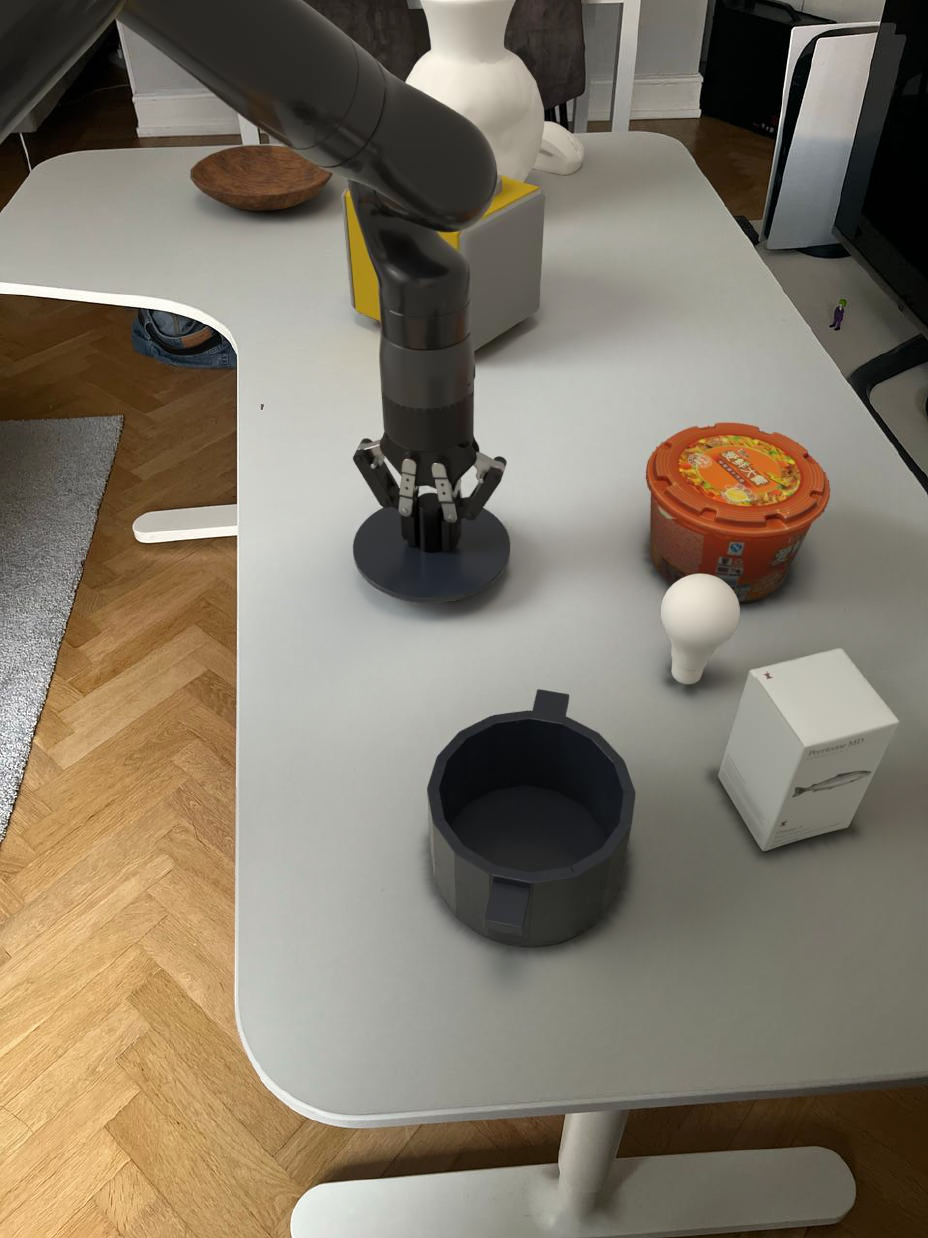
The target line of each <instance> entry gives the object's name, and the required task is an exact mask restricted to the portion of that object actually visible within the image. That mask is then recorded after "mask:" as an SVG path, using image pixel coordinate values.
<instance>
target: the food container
mask: <svg viewBox="0 0 928 1238" xmlns="http://www.w3.org/2000/svg"><path fill="white" fill-rule="evenodd" d="M645 482H646V485H647V488H648V491H649V492H650V507H649V508H650V513H649V514H650V517H649V519H650V523H649V524H650V526H649V529H650V530H649V531H650V532H649V554H650V559H651V562H652V564H653V566H654V568H655V570H656V571H657V572H658V574H659V576H660V577H661V578H662V579H664V580H665V582H667V583H668V584H669V585H670V586H672V585H673V584H674V583H675V582H677V581H678V580H680V579H681V578H684V577H686V576H689V575H693V574H708V575H712V576H715V577H718V578H720V579H721V580H723V581H724V582H725V583H726V584H728V585H729V586H730V587H731V589H732V590H733V591H734V593H735V594H736V596H737V599H738V602H739V604H745V603H746V604H747V603H752V602H756V601H759V600H761V599H763V598H765V597H768V596H769V595H771V594H772V593H774V592H775V591H776V590H778V588H779V587H780V586H781V585H782V583H783V582H784V580H785V578H786V576H787V574H788V573H789V570H790V568H791V566H792V565H793V562H794V560H795V559H796V556H797V554H798V552H799V550H800V548H801V546H802V544H803V542H804V540H805V538H806V536H807V534H808V532H809V530H810V529H811V526H812V524H813V523H814V521H816V520H817V519H818V518H819V517H820V516H822V514H824V512H825V510H826V508H827V507H828V504H829V500H830V497H831V487H830V486H831V485H830V479H828V476H827V473H826V472H825V471H824V469H823V468H822V466H821V465H820V463H819V462H817V461H816V459H815V458H814V457H813V456H812V455H810V453H809V452H808V450H807V449H806V447H805V446H803V445H801V444H800V443H799V442H798V441H796V440H794V439H792V438H790V437H788V436H786V435H784V434H782V433H779V432H776V431H773V432H772V433H768V432H765V430H760V427H758V426H757V425H753V424H748V423H741V422H725V421H724V422H716V423H715V424H714V425H711V426H710V425H707V426H702V427H699V426H698V425H695V426H691V427H687V428H686V429H683V430H680V431H678V432H677V433H675V434H673V435H671V436H670V437H669V438H667V439H666V440H664V441H662V442H661V443H660V444H659V445H658V446H656V447H655V449H654V451H652V453H651V455H650V456H649V458H648V460H647V463H646V468H645Z"/></svg>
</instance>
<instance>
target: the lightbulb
mask: <svg viewBox="0 0 928 1238" xmlns="http://www.w3.org/2000/svg"><path fill="white" fill-rule="evenodd" d="M740 617H741V608H740V603H739V602H738V599H737V596H736V594H735V593H734V591H733V590H732V589H731V587H730V586H729V585H728V584H726V583H725V582H724V581H723V580H721V579H720V578H718V577H715V576H712V575H708V574H693V575H689V576H686V577H684V578H681V579H680V580H678V581H677V582H675V583H674V584H673V585H670V587H669V588H668V589H667V591H666V592H665V594H664V596H663V599H662V602H661V606H660V620H661V624H662V626H663V629H664V631H665V633H666V635H667V637H668V638H669V639H670V643H671V651H670V655H671V660H672V662H671V676H672V677H673V678H674V679H675V680H676V682H678V683H680V684H683V685H692V684H696V683H698V682H699V681H700V680H701V678H702V675H703V673H704V671H705V667H706V666H707V665H708V664H709V662H710V659H711V657H712V654H713V653H714V652H715V651H716V650H717V649H718V648H720V647H721V646H722V645H724V644H725V643H726V642H727V641H729V640H730V639H731V637H732V636H733V635H734V633H735V632H736V630H737V628H738V626H739V624H740V619H741V618H740Z"/></svg>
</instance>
